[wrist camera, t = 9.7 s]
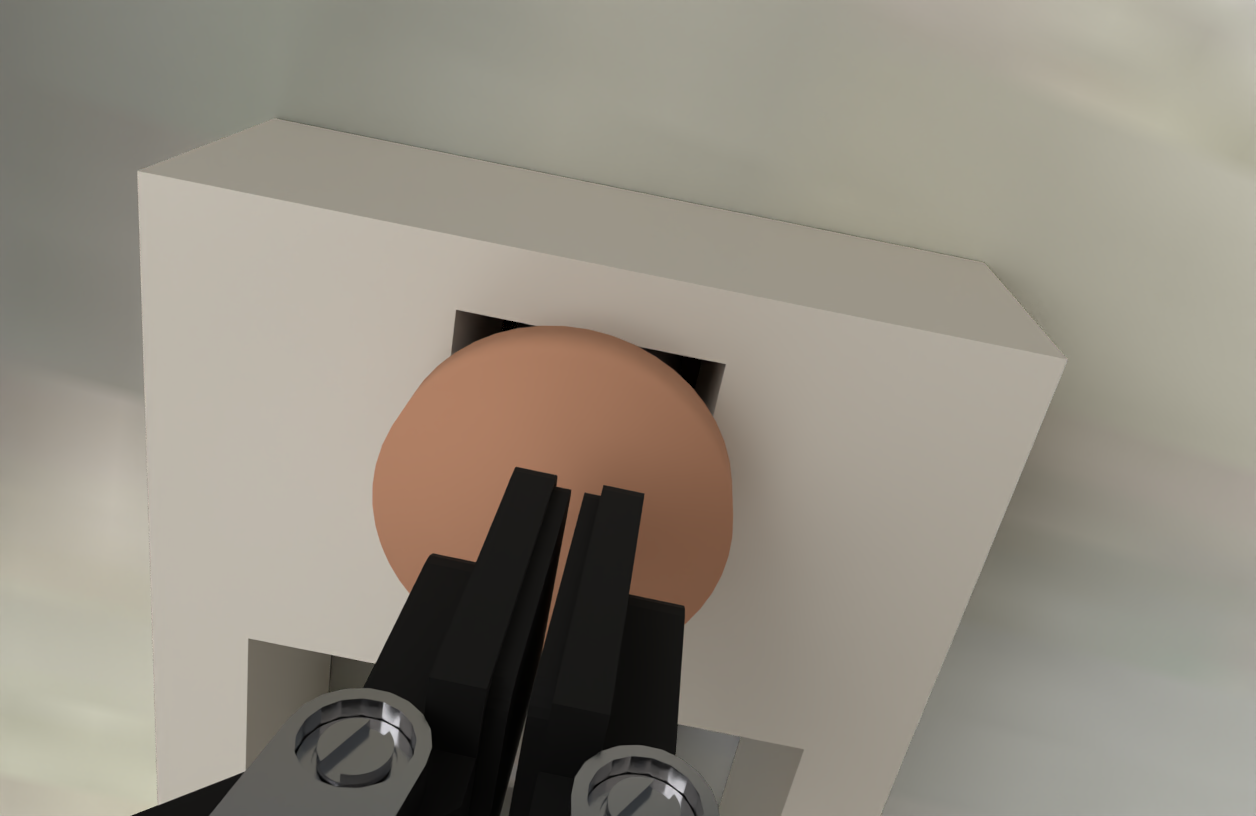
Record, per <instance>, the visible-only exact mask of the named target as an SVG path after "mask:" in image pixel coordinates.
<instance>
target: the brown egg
mask: <svg viewBox="0 0 1256 816" xmlns="http://www.w3.org/2000/svg"><path fill="white" fill-rule="evenodd" d="M515 467H520V468H525V469H530V470H535V471H540V472H544V473H549V474H554V475H557V486H556V487H561V488H566V489H571V497H570V503H569V508H568V514H567V519H566V524H565V530H564V535H563V541H562V546H561V552H560V557H559V562H558V568H557V573H556V579H555V584H554V590H553V595H552V600H551V606H550V611H549V617H548V622H547V628H546V633H545V638H544V643H545V639H546V636H547V632H548V628H549V624H550V621H551V617H552V613H553V609H554V605H555V602H556V598H557V594H558V590H559V587H560V583H561V579H562V575H563V572H564V568H565V564H566V560H567V557H568V553H569V549H570V545H571V541H572V538H573V534H574V530H575V526H576V523H577V519H578V515H579V511H580V508H581V504H582V500H583V496H584V493H590V494H595V495H600V496H601V493H602V488H603V485H607V486H612V487H616V488H621V489H626V490H631V491H636V492H640V493H644V494H645V495H644V502H643V508H642V514H641V521H640V527H639V534H638V540H637V547H636V553H635V559H634V566H633V572H632V579H631V585H630V591H629V594H631V595H636V596H640V597H645V598H650V599H655V600H659V601H664V602H669V603H674V604H679V605H683V606H684V607H685V623H684V625H685V624H686V623H687V622H688V621H689V620H690V619H691V618H692V617H693V616H694V615H695V614H696V613H697V612H698V611H699V610H700V609H701V607H702V606H703V605H704V603H705V602H706V601H707V599H708V598H709V597H710V595H711V594H712V592H713V591H714V589H715V587H716V585H717V583H718V581H719V579H720V578H721V576H722V573H723V570H724V568H725V565H726V562H727V559H728V556H729V551H730V546H731V541H732V534H733V496H732V477H731V468H730V460H729V457H728V453H727V449H726V445H725V442H724V439H723V437H722V434H721V432H720V430H719V427H718V425H717V423H716V421H715V419H714V418H713V416H712V414H711V413H710V411H709V409H708V408H707V406H706V404H705V403H704V402H703V400H702V399H701V398H700V397H699V395H698V394H697V393H696V392H695V390H694V389H693V388H692V387H691V386H690V385H689V384H688V383H687V382H686V381H685V380H684V379H683V378H682V377H681V364H680V357H679V355H678V354H673V353H668V352H663V351H658V350H653V349H648V348H643V347H638V346H636V345H634V344H632V343H629V342H627V341H624V340H622V339H619V338H617V337H614V336H612V335H608V334H604V333H600V332H597V331H593V330H589V329H583V328H575V327H568V326H535V325H530V324H525V323H519V325H518V326H517V328H516V329H512V330H508V331H504V332H500V333H496V334H493V335H491V336H488V337H485V338H483V339H480V340H478V341H475V342H473V343H471V344H470V345H468V346H466V347H464V348H462V349H461V350H459V351H457V352H455V353H454V354H453V355H451V356H450V357H449V358H447V359H446V360H445V361H443V362H442V363H441V364H439V365H438V366H437V367H436V368H435V369H434V370H433V371H432V372H431V373H430V374H429V375H428V376H427V377H426V378H425V379H424V380H423V382H422V383H421V385H420V386H419V387H418V389H417V390H416V391H415V393H414V394H413V396H412V397H411V398H410V400H409V401H408V403H407V404H406V406H405V407H404V409H403V410H402V412H401V413H400V415H399V416H398V418H397V419H396V421H395V422H394V424H393V425H392V427H391V429H390V431H389V433H388V434H387V436H386V438H385V440H384V442H383V444H382V447H381V450H380V453H379V456H378V459H377V462H376V466H375V472H374V479H373V487H372V506H373V513H374V520H375V526H376V530H377V533H378V537H379V540H380V543H381V546H382V548H383V551H384V553H385V555H386V557H387V560H388V562H389V564H390V566H391V567H392V569H393V571H394V572H395V574H396V576H397V577H398V579H399V581H400V582H401V583H402V585H403V586H404V587H405V588H406V590H407V591H408V592H409V593H410V592H411V590H412V588H413V586H414V584H415V582H416V580H417V578H418V576H419V574H420V572H421V570H422V568H423V566H424V564H425V562H426V560H427V558H428V557H429V555H431V554H432V553H435V554H439V555H444V556H449V557H454V558H458V559H463V560H468V561H473V562H476V561H477V558H478V556H479V554H480V551H481V549H482V546H483V544H484V541H485V539H486V537H487V534H488V532H489V529H490V527H491V524H492V522H493V519H494V517H495V515H496V512H497V510H498V507H499V505H500V502H501V500H502V498H503V495H504V493H505V490H506V488H507V485H508V483H509V480H510V478H511V476H512V473H513V471H514V469H515ZM543 647H544V644H543ZM542 651H543V649H542Z"/></svg>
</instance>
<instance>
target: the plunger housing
mask: <svg viewBox="0 0 1256 816" xmlns="http://www.w3.org/2000/svg"><path fill="white" fill-rule="evenodd" d="M137 173H138V205H139V236H140V267H141V299H142V330H143V361H144V393H145V424H146V455H147V486H148V518H149V549H150V580H151V612H152V643H153V674H154V706H155V737H156V768H157V800H158V805H160V804H163V803H165V802H168V801H170V800H173V799H176V798H178V797H181V796H183V795H186V794H188V793H191V792H194V791H196V790H199V789H201V788H204V787H206V786H209V785H212V784H214V783H217V782H219V781H222V780H224V779H227V778H230V777H232V776H235V775H237V774H240V773H242V772H245V771H246V770H247V768H248V767H249V766H250V765H251V763H252V762H253V761H254V760H255V759H256V757H257V756H258V755H259V754H260V752H261V751H262V750H263V749H264V747H265V746H266V745H267V744H268V743H269V741H270V740H271V739H272V738H273V736H274V735H275V734H276V733H277V731H278V730H279V729H280V728H281V727H282V725H283V724H284V723H285V722H286V720H287V719H288V718H289V717H290V716H291V715H292V714H293V713H294V712H296V711H297V710H298V709H299V708H300V707H301V706H302V705H303V704H305V703H307V702H309V701H311V700H313V699H315V698H317V697H319V696H321V695H323V694H325V693H329V680H330V665H331V655H334V656H339V657H344V658H349V659H354V660H359V661H364V662H369V663H374V664H375V663H376V661H377V659H378V657H379V655H380V653H381V651H382V649H383V647H384V645H385V643H386V641H387V639H388V637H389V635H390V633H391V631H392V629H393V627H394V625H395V623H396V621H397V619H398V617H399V615H400V612H401V610H402V608H403V606H404V604H405V602H406V600H407V598H408V596H409V594H410V593H409V592H408V591H407V590H406V588H405V587H404V586H403V585H402V583H401V582H400V581H399V579H398V577H397V576H396V574H395V572H394V571H393V569H392V567H391V566H390V564H389V562H388V560H387V557H386V555H385V553H384V551H383V548H382V546H381V543H380V540H379V537H378V533H377V530H376V526H375V520H374V513H373V506H372V487H373V479H374V472H375V466H376V462H377V459H378V456H379V453H380V450H381V447H382V444H383V442H384V440H385V438H386V436H387V434H388V433H389V431H390V429H391V427H392V425H393V424H394V422H395V421H396V419H397V418H398V416H399V415H400V413H401V412H402V410H403V409H404V407H405V406H406V404H407V403H408V401H409V400H410V398H411V397H412V396H413V394H414V393H415V391H416V390H417V389H418V387H419V386H420V385H421V383H422V382H423V380H424V379H425V378H426V377H427V376H428V375H429V374H430V373H431V372H432V371H433V370H434V369H435V368H436V367H437V366H438V365H439V364H441V363H442V362H443V361H445V360H446V359H447V358H449V357H450V356H451V355H453V354H454V353H455V352H457V351H459V350H461V349H462V348H464V347H466V346H468V345H470V344H471V343H473V342H475V341H478V340H480V339H483V338H485V337H488V336H491V335H493V334H496V333H500V332H501V330H502V323H503V319H505V320H510V321H515V322H520V323H525V324H530V325H535V326H568V327H575V328H583V329H589V330H593V331H597V332H600V333H604V334H608V335H612V336H614V337H617V338H619V339H622V340H624V341H627V342H629V343H632V344H634V345H636V346H638V347H643V348H648V349H653V350H658V351H663V352H668V353H673V354H678V355H683V356H688V357H693V358H698V359H702V362H701V366H700V370H699V374H698V379H697V383H696V387H695V392H696V393H697V394H698V395H699V397H700V398H701V399H702V400H703V402H704V403H705V404H706V406H707V408H708V409H709V411H710V413H711V414H712V416H713V418H714V419H715V421H716V423H717V425H718V427H719V430H720V432H721V434H722V437H723V439H724V442H725V445H726V449H727V453H728V457H729V460H730V468H731V477H732V496H733V534H732V541H731V546H730V551H729V556H728V559H727V562H726V565H725V568H724V570H723V573H722V576H721V578H720V579H719V581H718V583H717V585H716V587H715V589H714V591H713V592H712V594H711V595H710V597H709V598H708V599H707V601H706V602H705V603H704V605H703V606H702V607H701V609H700V610H699V611H698V612H697V613H696V614H695V615H694V616H693V617H692V618H691V619H690V620H689V621H688V622H687V623H686V624H685V625H684V638H683V653H682V667H681V682H680V697H679V711H678V724H680V725H685V726H690V727H695V728H700V729H705V730H710V731H715V732H720V733H725V734H730V735H735V736H740V741H739V744H738V747H737V750H736V753H735V757H734V760H733V763H732V766H731V770H730V773H729V776H728V779H727V782H726V786H725V789H724V792H723V795H722V799H721V802H720V805H719V808H718V809H719V815H720V816H881V814H882V811H883V809H884V806H885V804H886V801H887V799H888V797H889V794H890V792H891V789H892V787H893V784H894V782H895V780H896V777H897V775H898V772H899V770H900V767H901V765H902V763H903V760H904V758H905V755H906V753H907V750H908V748H909V745H910V743H911V741H912V738H913V736H914V733H915V731H916V728H917V726H918V724H919V721H920V719H921V716H922V714H923V711H924V709H925V707H926V704H927V702H928V699H929V697H930V694H931V692H932V690H933V687H934V685H935V682H936V680H937V677H938V675H939V672H940V670H941V668H942V665H943V663H944V660H945V658H946V655H947V653H948V651H949V648H950V646H951V643H952V641H953V638H954V636H955V634H956V631H957V629H958V626H959V624H960V621H961V619H962V617H963V614H964V612H965V609H966V607H967V604H968V602H969V599H970V597H971V595H972V592H973V590H974V587H975V585H976V582H977V580H978V578H979V575H980V573H981V570H982V568H983V565H984V563H985V561H986V558H987V556H988V553H989V551H990V548H991V546H992V544H993V541H994V539H995V536H996V534H997V531H998V529H999V526H1000V524H1001V522H1002V519H1003V517H1004V514H1005V512H1006V509H1007V507H1008V505H1009V502H1010V500H1011V497H1012V495H1013V492H1014V490H1015V488H1016V485H1017V483H1018V480H1019V478H1020V475H1021V473H1022V471H1023V468H1024V466H1025V463H1026V461H1027V458H1028V456H1029V453H1030V451H1031V449H1032V446H1033V444H1034V441H1035V439H1036V436H1037V434H1038V432H1039V429H1040V427H1041V424H1042V422H1043V419H1044V417H1045V415H1046V412H1047V410H1048V407H1049V405H1050V402H1051V400H1052V398H1053V395H1054V393H1055V390H1056V388H1057V385H1058V383H1059V380H1060V378H1061V376H1062V373H1063V371H1064V368H1065V366H1066V363H1067V361H1068V359H1067V358H1066V357H1065V355H1064V354H1063V353H1062V352H1061V351H1060V350H1059V348H1058V347H1057V346H1056V345H1055V344H1054V343H1053V341H1052V340H1051V339H1050V338H1049V337H1048V336H1047V335H1046V333H1045V332H1044V331H1043V330H1042V329H1041V328H1040V326H1039V325H1038V324H1037V323H1036V322H1035V321H1034V319H1033V318H1032V317H1031V316H1030V315H1029V314H1028V312H1027V311H1026V310H1025V309H1024V308H1023V307H1022V306H1021V304H1020V303H1019V302H1018V301H1017V300H1016V299H1015V297H1014V296H1013V295H1012V294H1011V293H1010V292H1009V290H1008V289H1007V288H1006V287H1005V286H1004V285H1003V283H1002V282H1001V281H1000V280H999V279H998V278H997V277H996V275H995V274H994V273H993V272H992V271H991V270H990V268H989V267H988V266H987V265H986V264H985V263H984V262H980V261H975V260H970V259H965V258H960V257H955V256H950V255H945V254H940V253H935V252H930V251H925V250H921V249H916V248H911V247H906V246H901V245H896V244H891V243H886V242H881V241H876V240H871V239H866V238H861V237H857V236H852V235H847V234H842V233H837V232H832V231H827V230H822V229H817V228H812V227H807V226H802V225H798V224H793V223H788V222H783V221H778V220H773V219H768V218H763V217H758V216H753V215H748V214H743V213H738V212H734V211H729V210H724V209H719V208H714V207H709V206H704V205H699V204H694V203H689V202H684V201H679V200H675V199H670V198H665V197H660V196H655V195H650V194H645V193H640V192H635V191H630V190H625V189H620V188H615V187H611V186H606V185H601V184H596V183H591V182H586V181H581V180H576V179H571V178H566V177H561V176H556V175H552V174H547V173H542V172H537V171H532V170H527V169H522V168H517V167H512V166H507V165H502V164H497V163H492V162H488V161H483V160H478V159H473V158H468V157H463V156H458V155H453V154H448V153H443V152H438V151H433V150H429V149H424V148H419V147H414V146H409V145H404V144H399V143H394V142H389V141H384V140H379V139H374V138H370V137H365V136H360V135H355V134H350V133H345V132H340V131H335V130H330V129H325V128H320V127H315V126H310V125H306V124H301V123H296V122H291V121H286V120H281V119H276V118H274V119H271V120H269V121H266V122H263V123H261V124H258V125H256V126H253V127H250V128H248V129H245V130H243V131H240V132H237V133H235V134H232V135H230V136H227V137H224V138H222V139H219V140H217V141H214V142H211V143H209V144H206V145H203V146H201V147H198V148H196V149H193V150H190V151H188V152H185V153H183V154H180V155H177V156H175V157H172V158H170V159H167V160H164V161H162V162H159V163H157V164H154V165H151V166H149V167H146V168H144V169H141V170H138V171H137Z"/></svg>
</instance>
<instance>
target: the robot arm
mask: <svg viewBox="0 0 1256 816" xmlns="http://www.w3.org/2000/svg"><path fill="white" fill-rule="evenodd" d="M556 486H557V475H554V474H549V473H544V472H540V471H535V470H530V469H525V468H520V467H515V469H514V471H513V473H512V476H511V478H510V480H509V483H508V485H507V488H506V490H505V493H504V495H503V498H502V500H501V502H500V505H499V507H498V510H497V512H496V515H495V517H494V519H493V522H492V524H491V527H490V529H489V532H488V534H487V537H486V539H485V541H484V544H483V546H482V549H481V551H480V554H479V556H478V558H477V561H476V562H473V561H468V560H463V559H458V558H454V557H449V556H444V555H439V554H435V553H432V554H431V555H429V557H428V558H427V560H426V562H425V564H424V566H423V568H422V570H421V572H420V574H419V576H418V578H417V580H416V582H415V584H414V586H413V588H412V590H411V592H410V594H409V596H408V598H407V600H406V602H405V604H404V606H403V608H402V610H401V612H400V615H399V617H398V619H397V621H396V623H395V625H394V627H393V629H392V631H391V633H390V635H389V637H388V639H387V641H386V643H385V645H384V647H383V649H382V651H381V653H380V655H379V657H378V659H377V661H376V663H375V665H374V667H373V669H372V671H371V673H370V675H369V678H368V680H367V682H366V684H365V686H364V688H348V689H342V690H338V691H334V692H330V693H325V694H323V695H321V696H319V697H317V698H315V699H313V700H311V701H309V702H307V703H305V704H303V705H302V706H301V707H300V708H299V709H298V710H297V711H296V712H294V713H293V714H292V715H291V716H290V717H289V718H288V719H287V720H286V722H285V723H284V724H283V725H282V727H281V728H280V729H279V730H278V731H277V733H276V734H275V735H274V736H273V738H272V739H271V740H270V741H269V743H268V744H267V745H266V746H265V747H264V749H263V750H262V751H261V752H260V754H259V755H258V756H257V757H256V759H255V760H254V761H253V762H252V763H251V765H250V766H249V767H248V768H247V770H246V771H245V772H242V773H240V774H237V775H235V776H232V777H230V778H227V779H224V780H222V781H219V782H217V783H214V784H212V785H209V786H206V787H204V788H201V789H199V790H196V791H194V792H191V793H188V794H186V795H183V796H181V797H178V798H176V799H173V800H170V801H168V802H165V803H163V804H160V805H158V806H155V807H152V808H150V809H147V810H145V811H142V812H140V813H137V814H134V815H132V816H500V814H501V810H502V807H503V803H504V799H505V795H506V791H507V788H508V784H509V780H510V776H511V772H512V769H513V765H514V761H515V757H516V754H517V750H518V746H519V742H520V738H521V735H522V731H523V727H524V723H525V727H524V733H523V738H522V744H521V749H520V755H519V760H518V766H517V771H516V777H515V782H514V788H513V793H512V799H511V804H510V810H509V815H508V816H720V815H719V809H718V806H717V803H716V800H715V797H714V794H713V791H712V789H711V788H710V786H709V785H708V784H707V782H706V781H705V780H704V778H703V777H702V776H701V774H700V773H699V772H698V771H697V770H695V769H694V768H693V767H692V766H690V765H689V764H688V763H687V762H685V761H684V760H683V759H681V758H679V757H677V756H675V755H676V741H677V726H678V711H679V697H680V682H681V667H682V653H683V638H684V623H685V607H684V606H683V605H679V604H674V603H669V602H664V601H659V600H655V599H650V598H645V597H640V596H636V595H631V594H629V591H630V585H631V579H632V572H633V566H634V559H635V553H636V547H637V540H638V534H639V527H640V521H641V514H642V508H643V502H644V495H645V494H644V493H640V492H636V491H631V490H626V489H621V488H616V487H612V486H607V485H603V488H602V493H601V496H600V495H595V494H590V493H584V496H583V500H582V504H581V508H580V511H579V515H578V519H577V523H576V526H575V530H574V534H573V538H572V541H571V545H570V549H569V553H568V557H567V560H566V564H565V568H564V572H563V575H562V579H561V583H560V587H559V590H558V594H557V598H556V602H555V605H554V609H553V613H552V617H551V621H550V624H549V628H548V632H547V636H546V639H545V643H544V638H545V633H546V628H547V622H548V617H549V611H550V606H551V600H552V595H553V590H554V584H555V579H556V573H557V568H558V562H559V557H560V552H561V546H562V541H563V535H564V530H565V524H566V519H567V514H568V508H569V503H570V497H571V489H566V488H561V487H556ZM543 644H544V647H543ZM542 649H543V651H542ZM526 716H527V717H526ZM525 719H526V722H525Z"/></svg>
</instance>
